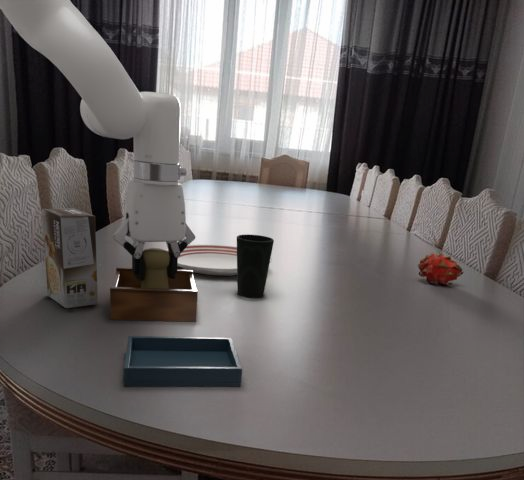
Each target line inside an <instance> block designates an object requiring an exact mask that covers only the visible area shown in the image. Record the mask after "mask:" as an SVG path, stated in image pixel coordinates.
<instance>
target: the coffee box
mask: <svg viewBox="0 0 524 480" xmlns="http://www.w3.org/2000/svg"><path fill="white" fill-rule="evenodd" d="M41 219H42V232H43V233H42V235H43V246H44V247H43V249H44V263H45V274H46V288H47V296H48V297H49V298H51V299H52V300H53V301H55V302H56V303H57V304H59V305H60V306H62V307H63V308H65V309H72V308H80V307H86V306H95V305H98V303H99V301H98V297H99V294H98V266H97V265H98V264H97V262H98V261H97V234H96V232H97V231H96V229H97V228H96V215H93V214H90V213H88V212H85V211H82V210H79V209H77V208H73V207H72V208H71V207H69V208H68V207H63V208H62V207H61V208H60V207H59V208H56V207H55V208H41Z"/></svg>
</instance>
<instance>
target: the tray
mask: <svg viewBox="0 0 524 480" xmlns="http://www.w3.org/2000/svg"><path fill="white" fill-rule="evenodd" d="M242 377H243V367H242V364H241V362H240V358H239V355H238V353H237V350H236V347H235V344H234V341H233V338H232V337H208V336H207V337H202V336H201V337H199V336H198V337H197V336H154V335H153V336H151V335H150V336H149V335H128V336H127V343H126V351H125V358H124V365H123V386H124V387H242Z"/></svg>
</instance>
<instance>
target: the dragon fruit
mask: <svg viewBox="0 0 524 480" xmlns="http://www.w3.org/2000/svg"><path fill="white" fill-rule="evenodd" d="M417 268H418V270H419V271H418V275H419V277H421V278H425V279H426V282H427V283H431V282H432V284H434V285H435V284H443V285H444V286H451V285H453V281H457V280H458V278H459V277H461V276H462V275H463V274H464V271H463V268H462V267H461V266H460V264H458V263H457V261H455V260H452V256H451V255H446V256H444V254H443V253H441V252H438V253H437V254H435V253H432V252H431V253H429V254H428V255H425V257H423V258H422V259H420V260H419V263H418V264H417Z"/></svg>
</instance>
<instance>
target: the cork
mask: <svg viewBox="0 0 524 480" xmlns="http://www.w3.org/2000/svg"><path fill="white" fill-rule="evenodd" d="M141 255H142V258H143V259H144V280H143V281H142V282H141V288H159V289H169V286H168V277H167V266H168V265H169V262H170V256H169V254H168V252H167V251H166V249H164V248H159V247H147V248H145V249H143V251H142V254H141Z"/></svg>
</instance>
